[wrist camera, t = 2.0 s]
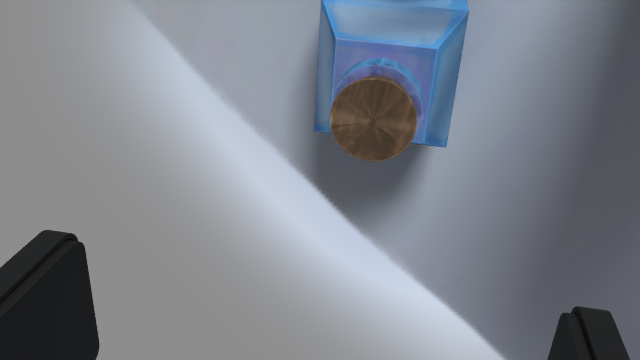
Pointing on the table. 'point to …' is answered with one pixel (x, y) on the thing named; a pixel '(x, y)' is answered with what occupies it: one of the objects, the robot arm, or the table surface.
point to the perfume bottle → (388, 73)
